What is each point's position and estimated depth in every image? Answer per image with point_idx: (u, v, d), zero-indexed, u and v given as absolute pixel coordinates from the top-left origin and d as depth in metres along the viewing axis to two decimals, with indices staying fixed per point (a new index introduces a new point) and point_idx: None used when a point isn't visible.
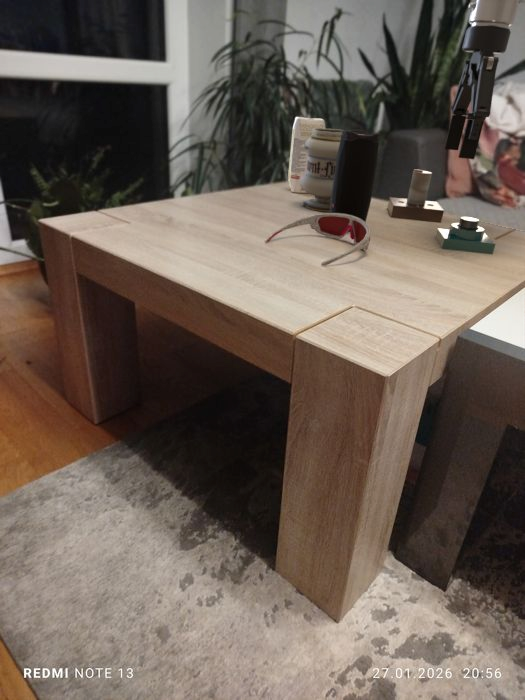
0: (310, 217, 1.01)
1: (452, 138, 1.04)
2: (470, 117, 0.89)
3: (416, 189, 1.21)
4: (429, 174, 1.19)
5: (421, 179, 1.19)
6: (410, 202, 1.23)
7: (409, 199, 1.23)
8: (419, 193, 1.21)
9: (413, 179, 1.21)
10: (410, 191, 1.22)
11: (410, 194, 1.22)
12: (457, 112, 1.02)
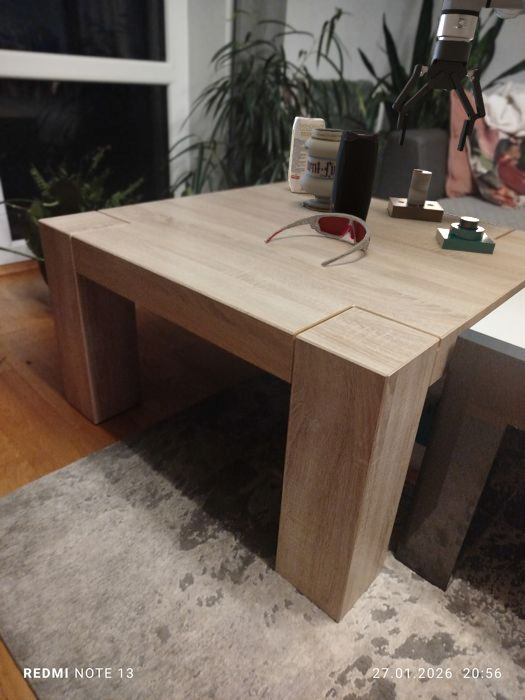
0: (310, 217, 1.01)
1: None
2: None
3: (416, 189, 1.21)
4: (429, 174, 1.19)
5: (421, 179, 1.19)
6: (410, 202, 1.23)
7: (409, 199, 1.23)
8: (419, 193, 1.21)
9: (413, 179, 1.21)
10: (410, 191, 1.22)
11: (410, 194, 1.22)
12: (405, 111, 1.13)
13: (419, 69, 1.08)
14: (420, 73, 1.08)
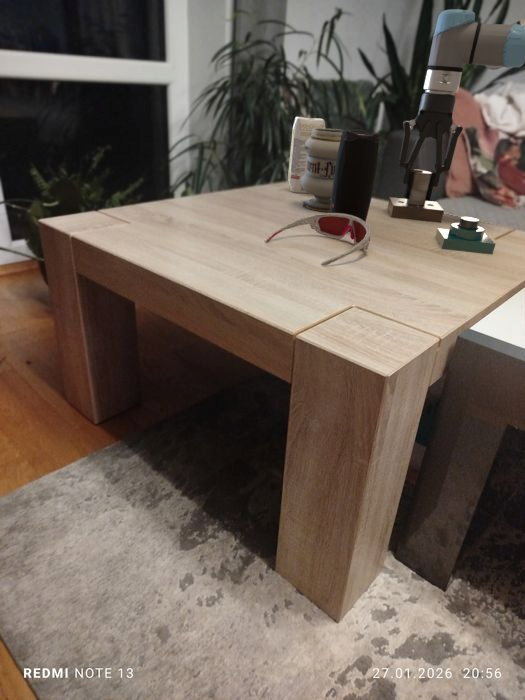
0: (310, 217, 1.01)
1: (409, 189, 1.23)
2: (439, 172, 1.19)
3: (416, 189, 1.21)
4: (429, 174, 1.19)
5: (421, 179, 1.19)
6: (410, 202, 1.23)
7: (409, 199, 1.23)
8: (419, 193, 1.21)
9: (413, 179, 1.21)
10: (410, 191, 1.22)
11: (410, 194, 1.22)
12: None
13: (407, 126, 1.15)
14: (410, 128, 1.16)
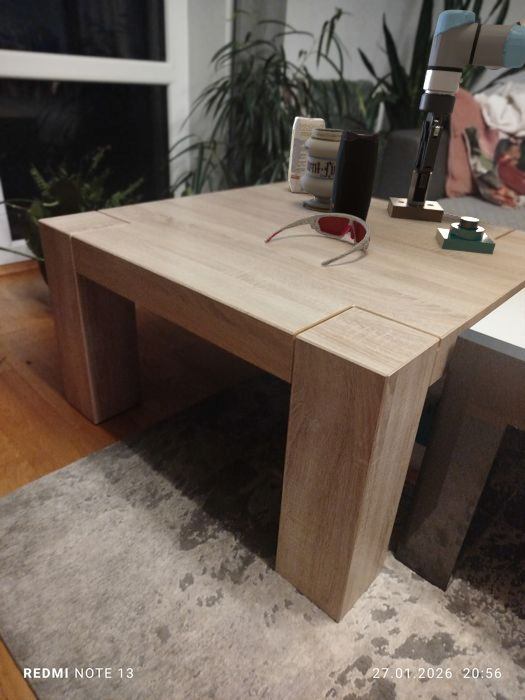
0: (310, 217, 1.01)
1: None
2: None
3: (427, 189, 1.22)
4: None
5: (430, 179, 1.21)
6: (423, 203, 1.23)
7: None
8: None
9: None
10: None
11: None
12: None
13: None
14: None
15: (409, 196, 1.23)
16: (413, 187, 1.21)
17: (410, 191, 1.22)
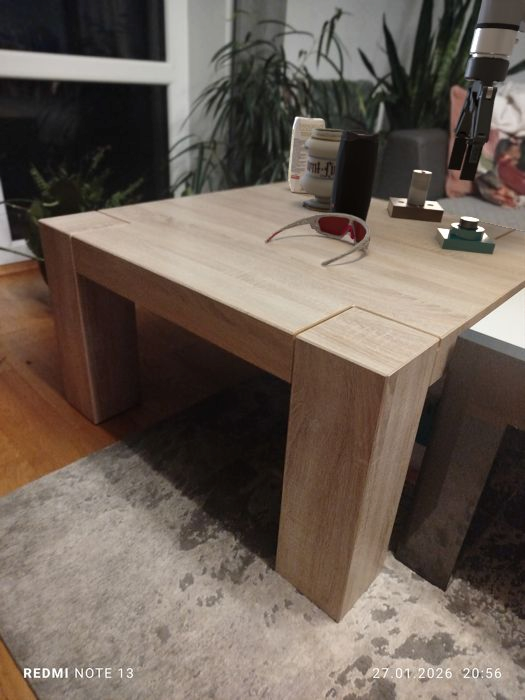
0: (310, 217, 1.01)
1: None
2: None
3: (427, 189, 1.22)
4: None
5: (430, 179, 1.21)
6: (423, 203, 1.23)
7: (422, 201, 1.22)
8: None
9: (426, 181, 1.20)
10: (422, 193, 1.21)
11: (423, 196, 1.21)
12: None
13: None
14: None
15: (409, 196, 1.23)
16: (413, 187, 1.21)
17: (410, 191, 1.22)
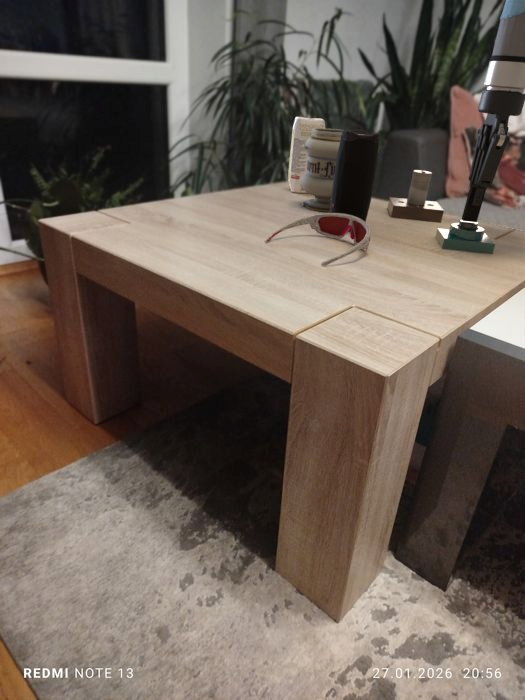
0: (310, 217, 1.01)
1: None
2: None
3: (427, 189, 1.22)
4: None
5: (430, 179, 1.21)
6: (423, 203, 1.23)
7: (422, 201, 1.22)
8: None
9: (426, 181, 1.20)
10: (422, 193, 1.21)
11: (423, 196, 1.21)
12: None
13: None
14: None
15: (409, 196, 1.23)
16: (413, 187, 1.21)
17: (410, 191, 1.22)
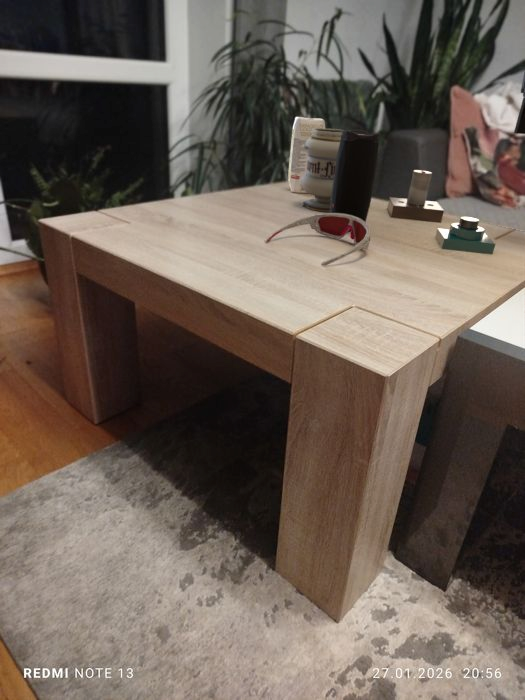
0: (310, 217, 1.01)
1: None
2: None
3: (427, 189, 1.22)
4: None
5: (430, 179, 1.21)
6: (423, 203, 1.23)
7: (422, 201, 1.22)
8: None
9: (426, 181, 1.20)
10: (422, 193, 1.21)
11: (423, 196, 1.21)
12: None
13: None
14: None
15: (409, 196, 1.23)
16: (413, 187, 1.21)
17: (410, 191, 1.22)
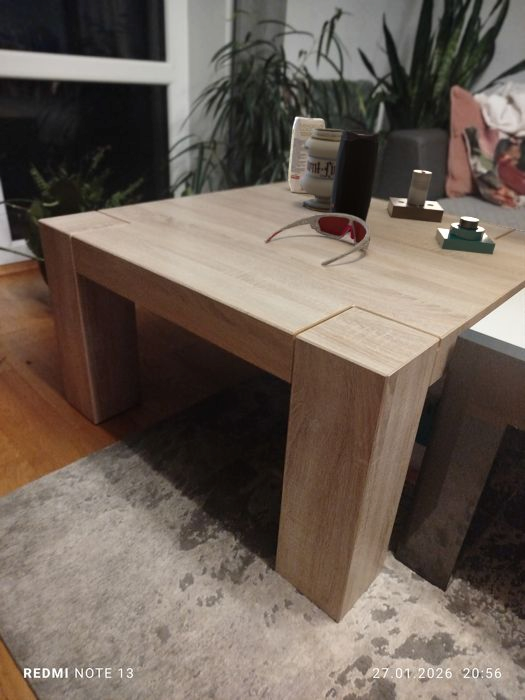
0: (310, 217, 1.01)
1: None
2: None
3: (427, 189, 1.22)
4: None
5: (430, 179, 1.21)
6: (423, 203, 1.23)
7: (422, 201, 1.22)
8: None
9: (426, 181, 1.20)
10: (422, 193, 1.21)
11: (423, 196, 1.21)
12: None
13: None
14: None
15: (409, 196, 1.23)
16: (413, 187, 1.21)
17: (410, 191, 1.22)
